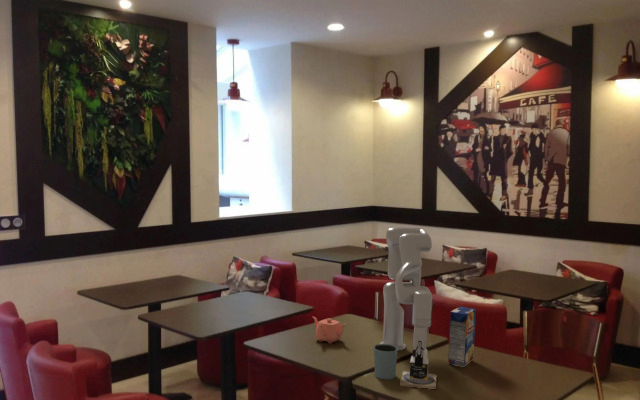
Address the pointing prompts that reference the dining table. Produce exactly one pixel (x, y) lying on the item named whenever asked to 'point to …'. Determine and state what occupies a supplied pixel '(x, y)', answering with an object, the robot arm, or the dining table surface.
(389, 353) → the blue-grey cup
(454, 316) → the juice carton
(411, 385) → the board
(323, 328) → the teapot
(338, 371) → the dining table surface
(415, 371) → the medicine bottle
